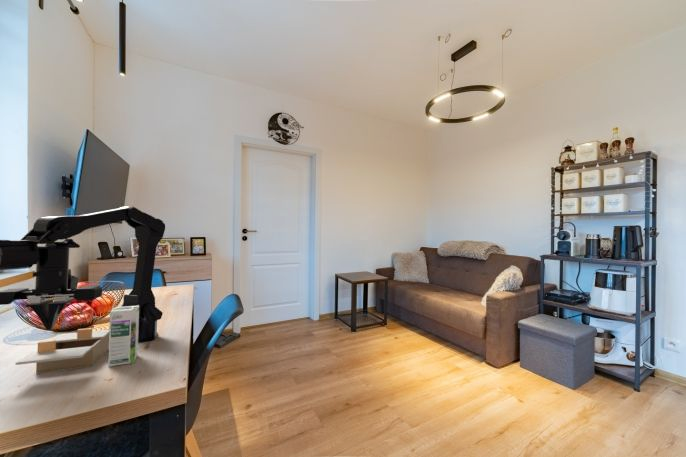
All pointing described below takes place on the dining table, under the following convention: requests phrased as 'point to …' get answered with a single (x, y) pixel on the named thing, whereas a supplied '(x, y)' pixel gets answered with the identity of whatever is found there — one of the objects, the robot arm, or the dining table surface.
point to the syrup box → (123, 335)
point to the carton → (86, 361)
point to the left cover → (53, 353)
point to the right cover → (81, 335)
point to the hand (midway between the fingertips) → (50, 329)
